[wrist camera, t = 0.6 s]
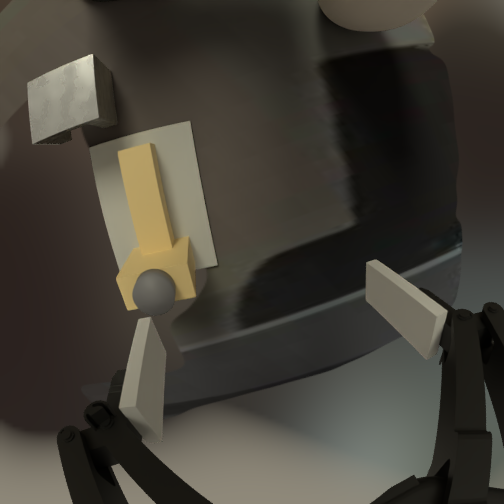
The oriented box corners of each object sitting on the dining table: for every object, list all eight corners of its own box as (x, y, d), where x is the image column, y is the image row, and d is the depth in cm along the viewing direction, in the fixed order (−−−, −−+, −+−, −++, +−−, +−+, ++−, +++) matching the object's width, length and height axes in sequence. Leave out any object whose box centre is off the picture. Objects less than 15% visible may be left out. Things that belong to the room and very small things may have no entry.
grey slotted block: (54, 92, 28) (27, 83, 20) (111, 71, 29) (92, 53, 22) (60, 144, 31) (32, 144, 23) (117, 124, 32) (98, 117, 24)
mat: (89, 147, 32) (88, 147, 32) (190, 121, 34) (190, 120, 33) (125, 283, 39) (124, 284, 39) (217, 264, 41) (217, 265, 40)
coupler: (111, 155, 33) (76, 157, 22) (169, 140, 34) (157, 133, 22) (141, 275, 39) (125, 321, 28) (195, 264, 40) (196, 307, 29)
